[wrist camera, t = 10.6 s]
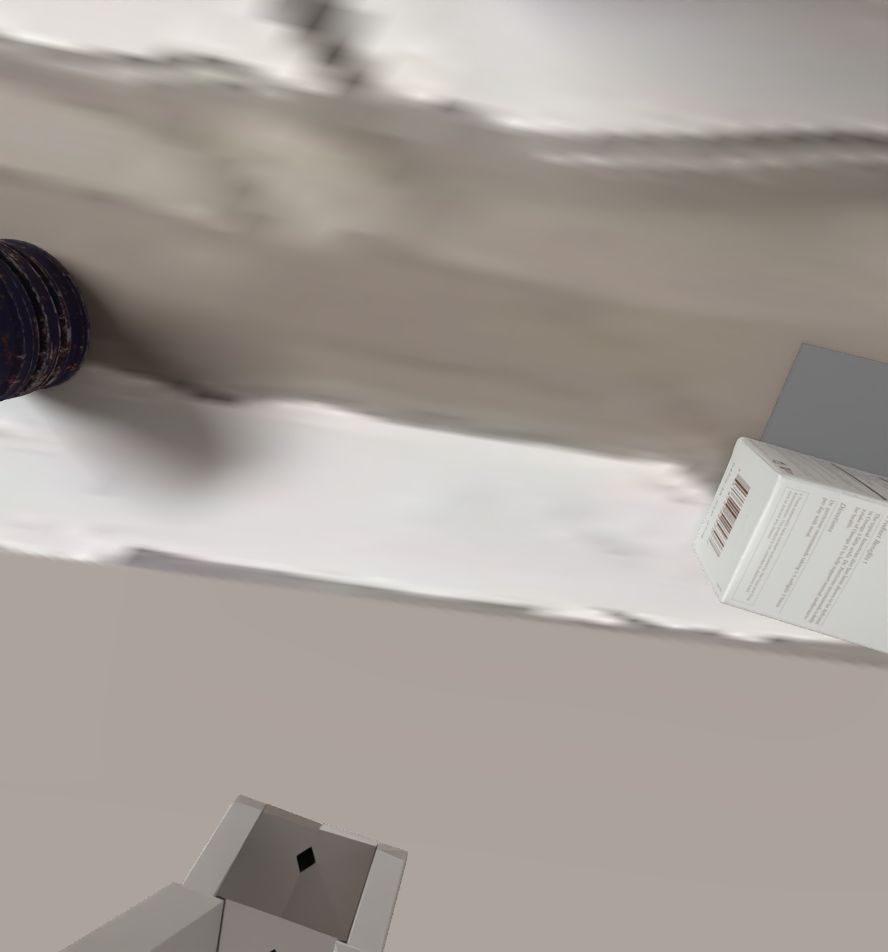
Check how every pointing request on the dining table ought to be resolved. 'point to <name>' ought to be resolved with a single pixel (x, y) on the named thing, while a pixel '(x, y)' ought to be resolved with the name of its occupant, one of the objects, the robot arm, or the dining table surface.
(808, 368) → the mat
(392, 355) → the dining table surface
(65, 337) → the storage jar
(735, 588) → the supplement box
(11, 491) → the dining table surface
